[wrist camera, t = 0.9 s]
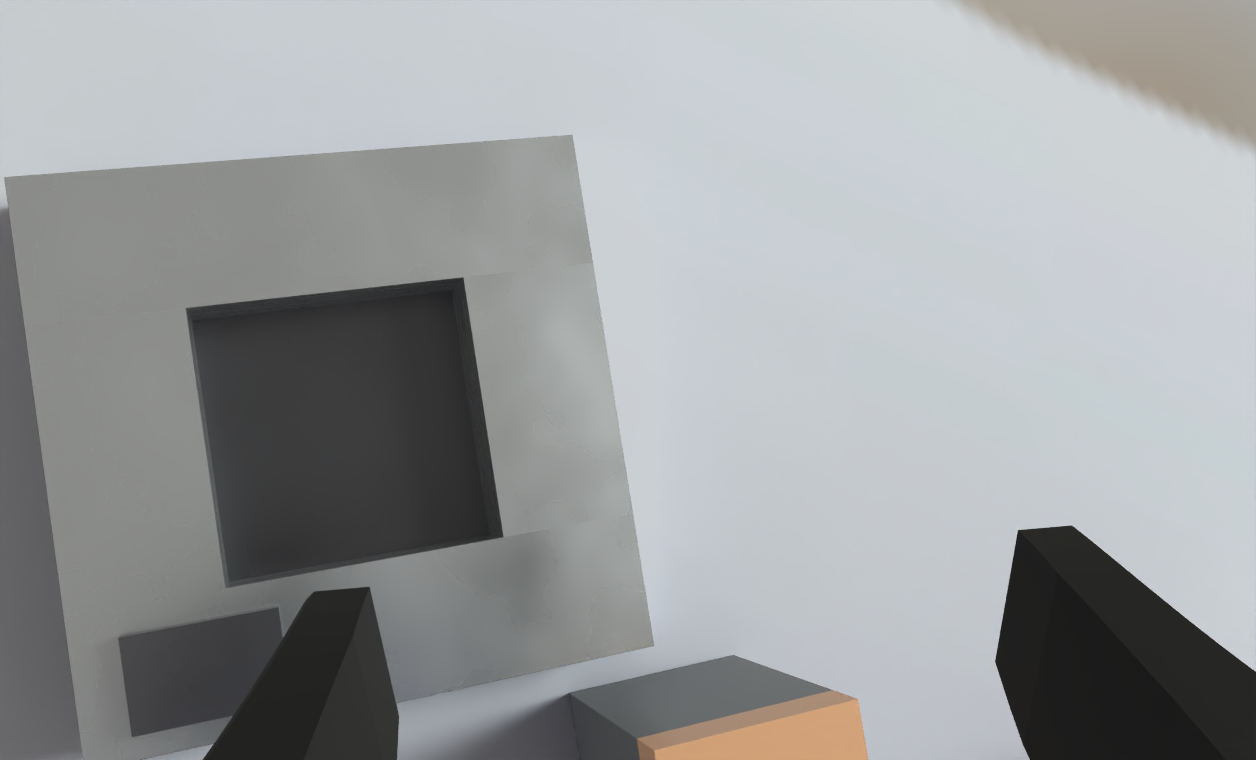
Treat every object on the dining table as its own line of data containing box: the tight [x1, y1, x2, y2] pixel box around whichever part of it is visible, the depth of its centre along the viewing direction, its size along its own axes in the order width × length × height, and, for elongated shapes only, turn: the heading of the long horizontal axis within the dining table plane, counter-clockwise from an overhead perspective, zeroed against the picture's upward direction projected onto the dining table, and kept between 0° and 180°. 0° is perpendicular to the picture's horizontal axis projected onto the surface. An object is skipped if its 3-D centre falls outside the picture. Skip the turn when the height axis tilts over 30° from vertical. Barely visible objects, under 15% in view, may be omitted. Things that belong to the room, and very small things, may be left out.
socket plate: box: [4, 135, 654, 760], centre depth 23 cm, size 11×11×2 cm
